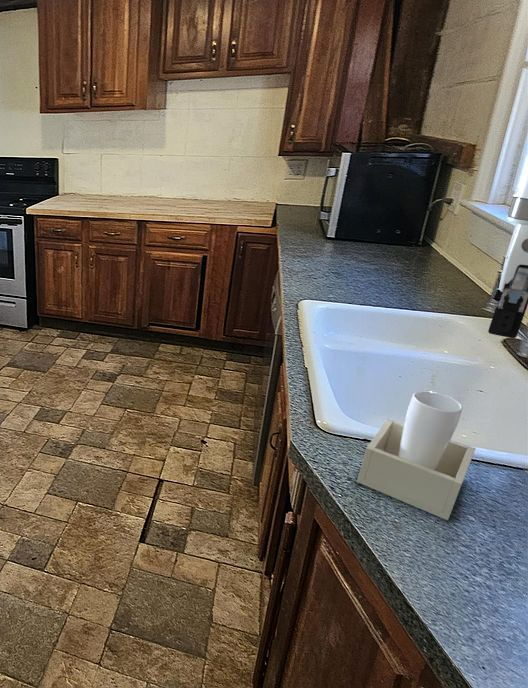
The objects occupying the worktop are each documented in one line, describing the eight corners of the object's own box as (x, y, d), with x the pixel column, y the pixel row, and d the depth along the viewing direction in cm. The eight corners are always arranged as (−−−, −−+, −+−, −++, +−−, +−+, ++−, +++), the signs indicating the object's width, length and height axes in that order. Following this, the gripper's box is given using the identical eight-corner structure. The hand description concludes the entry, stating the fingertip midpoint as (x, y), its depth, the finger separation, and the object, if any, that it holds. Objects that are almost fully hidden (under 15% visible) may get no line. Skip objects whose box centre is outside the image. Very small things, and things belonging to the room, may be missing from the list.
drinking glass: (397, 460, 94) (420, 386, 89) (441, 479, 89) (469, 402, 84) (382, 475, 90) (405, 399, 85) (427, 496, 85) (455, 416, 80)
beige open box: (462, 482, 90) (475, 448, 88) (447, 520, 82) (461, 484, 79) (378, 450, 99) (387, 418, 96) (356, 482, 90) (366, 447, 87)
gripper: (580, 224, 65) (533, 350, 71) (582, 207, 77) (542, 317, 83) (502, 217, 70) (465, 336, 76) (515, 202, 81) (482, 306, 88)
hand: (505, 326), depth 80 cm, fingers open, 9 cm apart
